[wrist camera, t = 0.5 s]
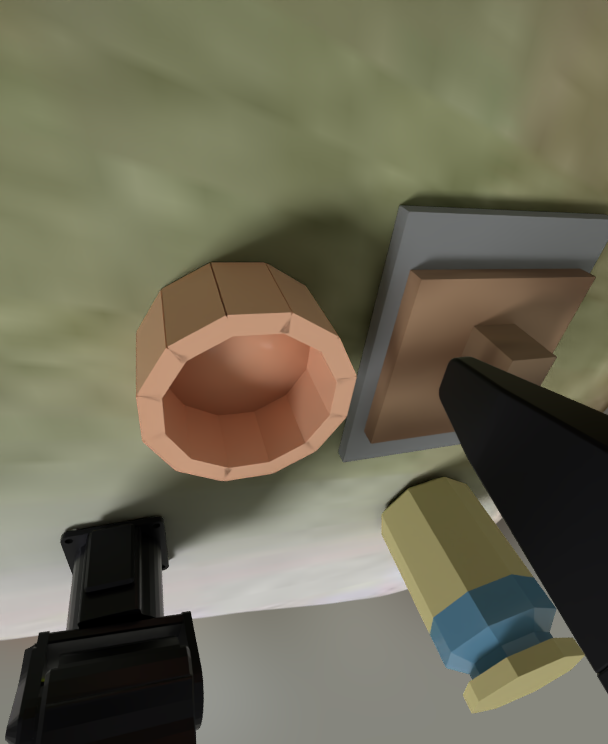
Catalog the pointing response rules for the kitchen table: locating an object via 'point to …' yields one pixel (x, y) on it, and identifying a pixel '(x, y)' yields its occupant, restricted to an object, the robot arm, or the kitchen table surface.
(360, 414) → the charcoal mat
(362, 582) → the kitchen table surface
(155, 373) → the terracotta bowl
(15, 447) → the kitchen table surface
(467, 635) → the jar
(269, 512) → the kitchen table surface
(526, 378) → the walnut cover
